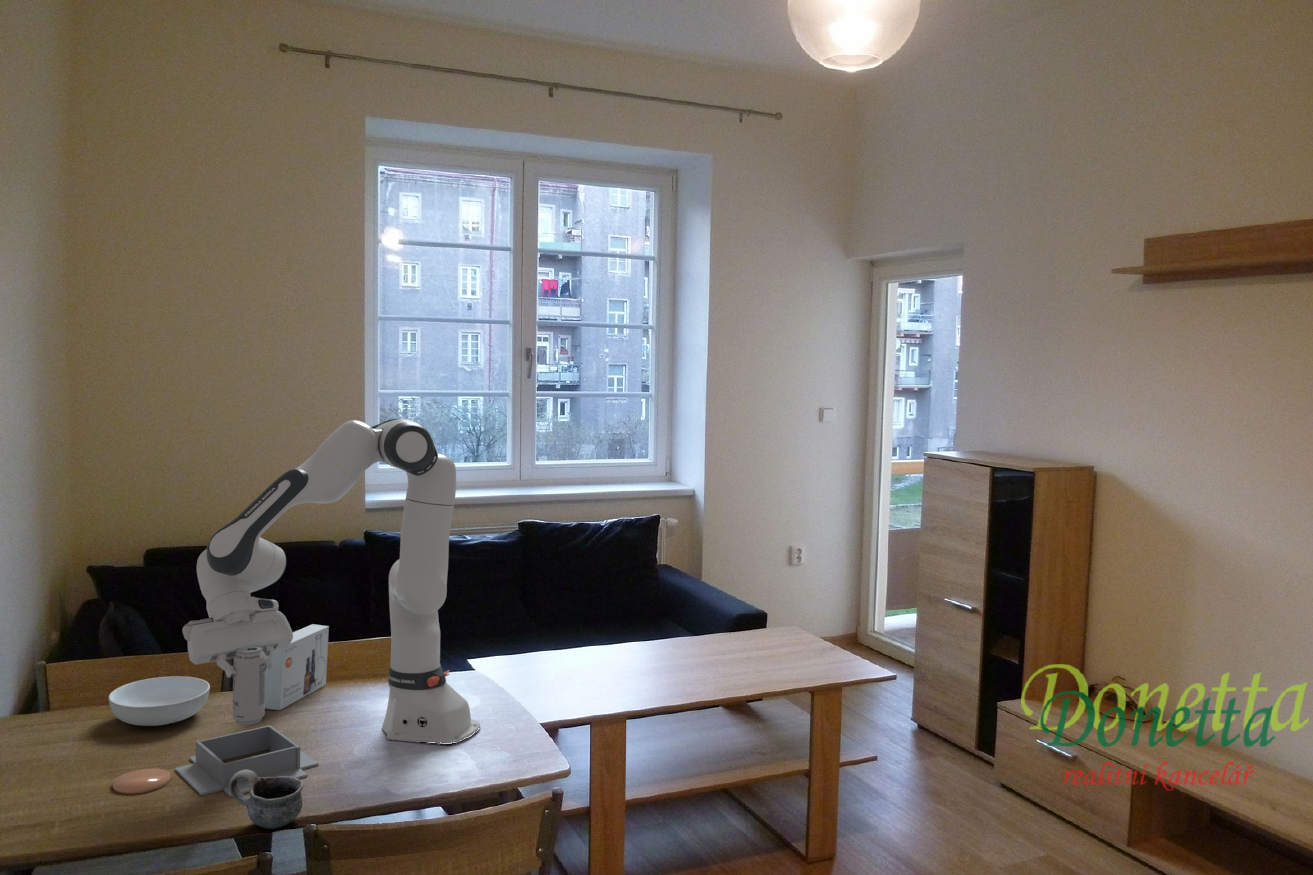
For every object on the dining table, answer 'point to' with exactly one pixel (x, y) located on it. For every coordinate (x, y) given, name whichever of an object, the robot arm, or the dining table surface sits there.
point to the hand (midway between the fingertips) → (250, 672)
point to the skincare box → (297, 667)
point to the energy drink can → (249, 685)
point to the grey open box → (243, 760)
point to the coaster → (141, 781)
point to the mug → (269, 798)
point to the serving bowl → (159, 700)
